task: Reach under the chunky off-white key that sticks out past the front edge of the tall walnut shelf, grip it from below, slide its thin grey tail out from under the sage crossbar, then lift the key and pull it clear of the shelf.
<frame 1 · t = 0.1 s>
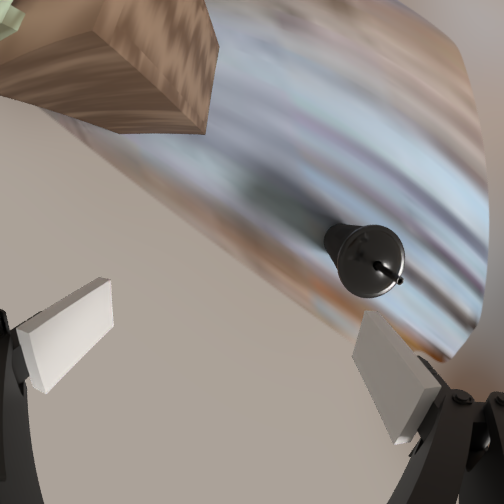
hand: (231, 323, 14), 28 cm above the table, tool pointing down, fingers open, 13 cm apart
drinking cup: (339, 240, 41), on the table
shelf: (167, 87, 37), on the table
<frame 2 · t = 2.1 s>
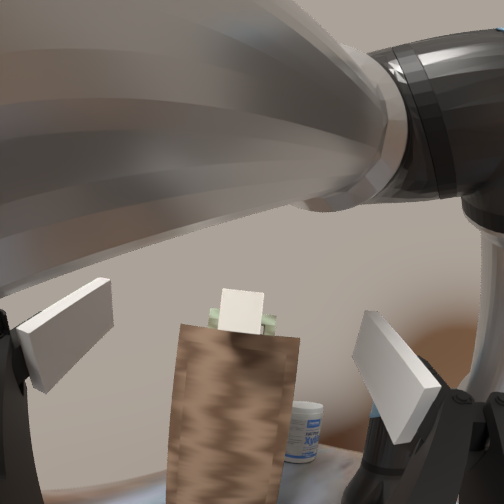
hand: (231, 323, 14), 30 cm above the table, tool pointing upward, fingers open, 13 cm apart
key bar: (240, 332, 35), point 30 cm above the table, touching shelf
supplement tub: (296, 458, 56), on the table
shelf: (221, 503, 32), on the table
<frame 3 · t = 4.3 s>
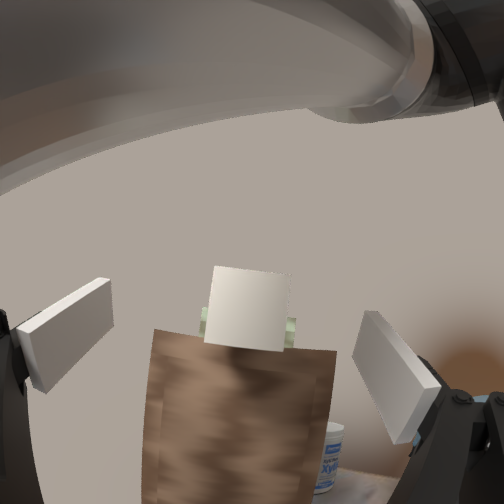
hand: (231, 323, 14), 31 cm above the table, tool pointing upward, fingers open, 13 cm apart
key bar: (245, 343, 22), point 30 cm above the table, touching shelf
supplement tub: (309, 486, 42), on the table
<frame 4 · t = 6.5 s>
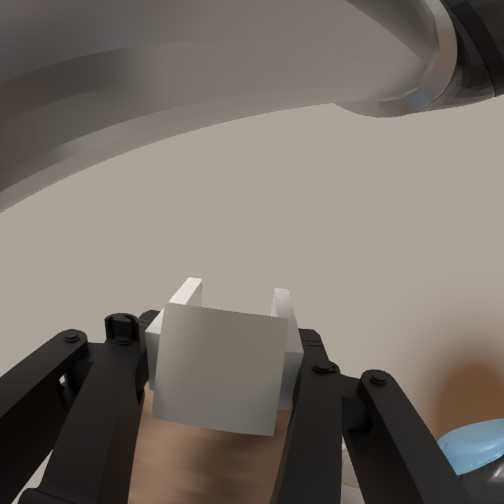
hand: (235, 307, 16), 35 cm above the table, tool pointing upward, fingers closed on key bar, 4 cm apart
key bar: (227, 385, 16), point 30 cm above the table, touching gripper, shelf
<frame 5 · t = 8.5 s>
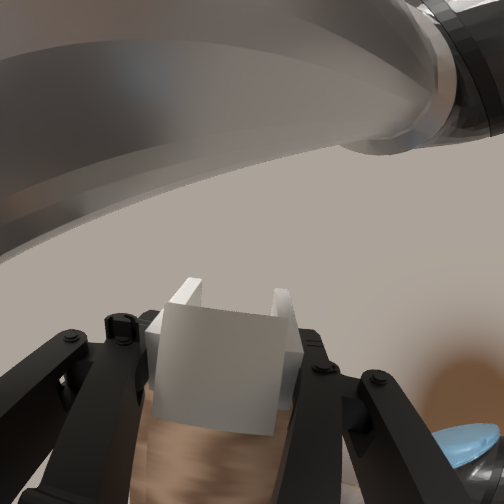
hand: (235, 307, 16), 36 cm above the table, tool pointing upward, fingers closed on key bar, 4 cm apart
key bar: (227, 385, 16), point 31 cm above the table, touching gripper
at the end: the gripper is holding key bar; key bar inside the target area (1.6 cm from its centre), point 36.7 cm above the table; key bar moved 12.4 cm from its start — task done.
